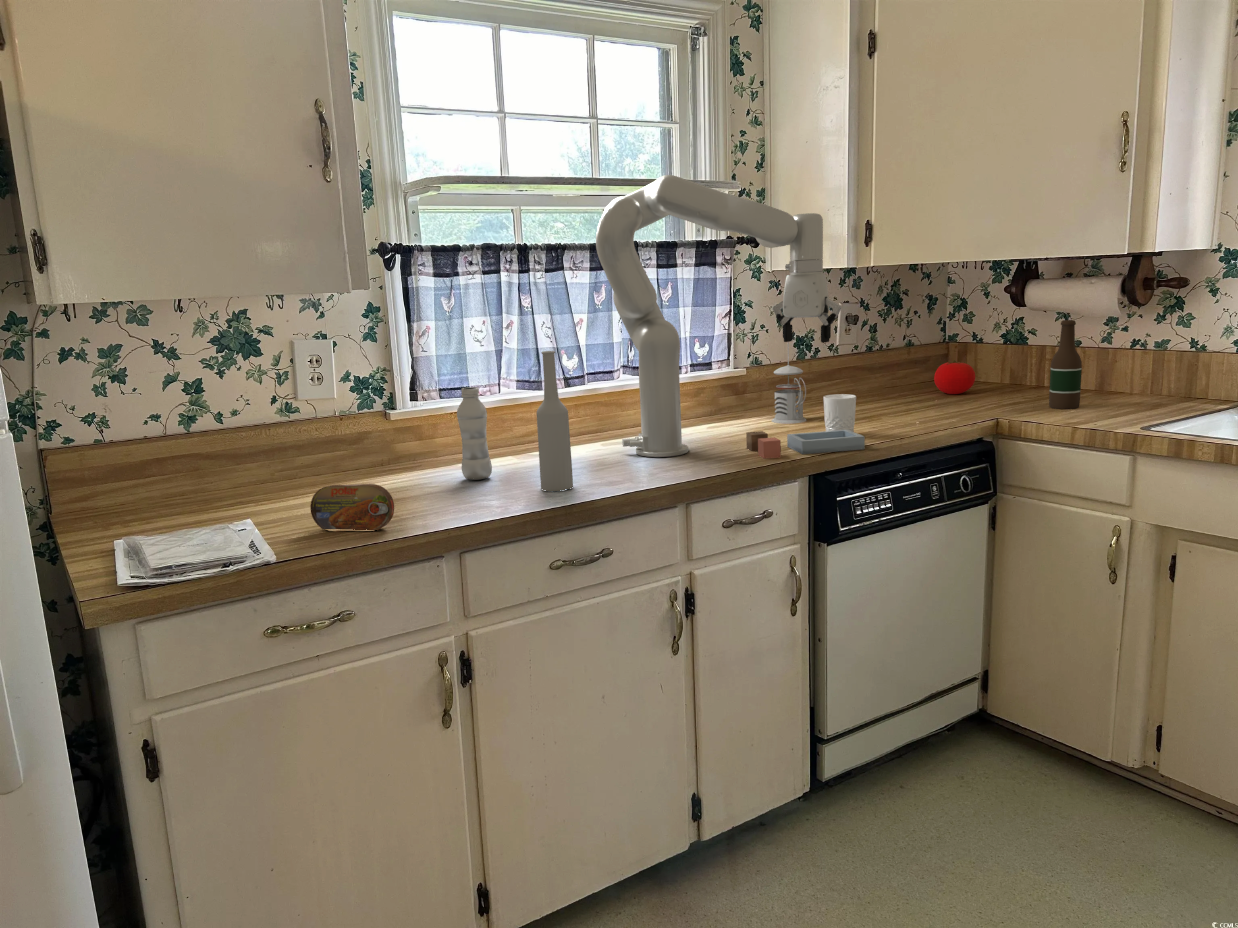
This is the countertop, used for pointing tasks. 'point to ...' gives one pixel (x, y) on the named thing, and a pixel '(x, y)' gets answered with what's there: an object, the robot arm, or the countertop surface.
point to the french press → (789, 397)
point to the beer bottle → (1065, 371)
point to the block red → (769, 447)
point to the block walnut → (754, 439)
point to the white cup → (839, 412)
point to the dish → (825, 441)
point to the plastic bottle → (473, 435)
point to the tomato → (954, 377)
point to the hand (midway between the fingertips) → (806, 341)
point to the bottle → (553, 433)
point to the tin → (352, 507)
